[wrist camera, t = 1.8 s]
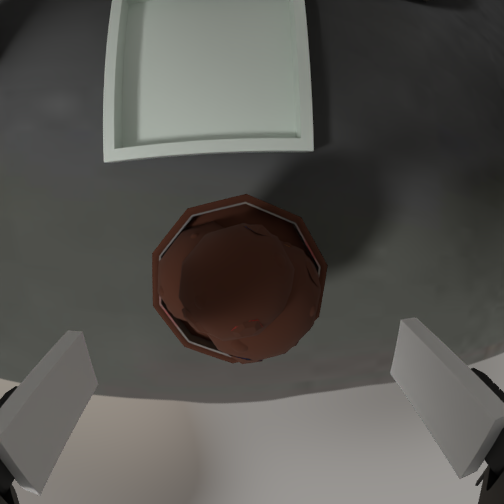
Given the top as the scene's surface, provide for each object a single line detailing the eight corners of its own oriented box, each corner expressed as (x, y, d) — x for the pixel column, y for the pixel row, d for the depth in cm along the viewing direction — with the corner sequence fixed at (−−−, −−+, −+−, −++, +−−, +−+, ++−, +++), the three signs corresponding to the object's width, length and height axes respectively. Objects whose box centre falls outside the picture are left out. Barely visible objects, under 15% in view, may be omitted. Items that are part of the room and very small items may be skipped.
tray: (114, 162, 26) (104, 162, 23) (121, 1, 21) (113, -10, 19) (306, 152, 27) (313, 150, 24) (296, -11, 22) (301, -24, 20)
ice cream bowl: (153, 257, 28) (85, 340, 14) (232, 161, 26) (230, 150, 12) (242, 326, 30) (249, 443, 16) (322, 240, 29) (399, 308, 14)
